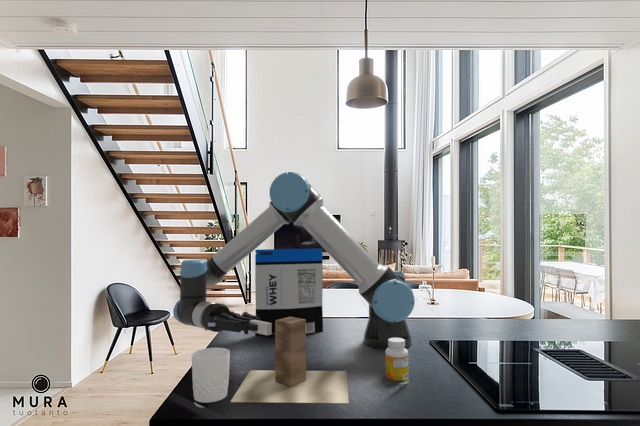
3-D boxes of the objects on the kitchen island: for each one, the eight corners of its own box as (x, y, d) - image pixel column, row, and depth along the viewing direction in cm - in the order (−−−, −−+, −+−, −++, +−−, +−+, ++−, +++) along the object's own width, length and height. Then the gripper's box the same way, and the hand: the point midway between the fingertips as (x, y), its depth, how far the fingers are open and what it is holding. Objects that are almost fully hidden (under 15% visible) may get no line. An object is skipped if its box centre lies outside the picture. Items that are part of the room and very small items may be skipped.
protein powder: (326, 335, 132) (325, 249, 134) (256, 339, 127) (256, 250, 129) (319, 328, 142) (319, 248, 143) (254, 332, 136) (254, 249, 138)
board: (346, 375, 94) (346, 371, 94) (348, 409, 76) (348, 403, 76) (250, 375, 95) (250, 370, 95) (230, 407, 77) (230, 401, 77)
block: (274, 381, 87) (274, 320, 88) (289, 375, 91) (289, 316, 92) (291, 387, 84) (290, 323, 85) (306, 380, 88) (305, 319, 88)
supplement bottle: (384, 376, 93) (383, 336, 93) (406, 376, 93) (405, 336, 93) (387, 385, 87) (386, 342, 88) (410, 385, 87) (410, 342, 88)
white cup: (196, 394, 83) (196, 348, 84) (232, 392, 84) (232, 347, 85) (186, 410, 76) (187, 359, 76) (226, 409, 76) (227, 358, 77)
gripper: (230, 325, 112) (288, 339, 97) (191, 334, 102) (248, 351, 87) (231, 300, 113) (288, 309, 98) (191, 306, 102) (248, 318, 88)
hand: (269, 329), depth 92 cm, fingers closed
